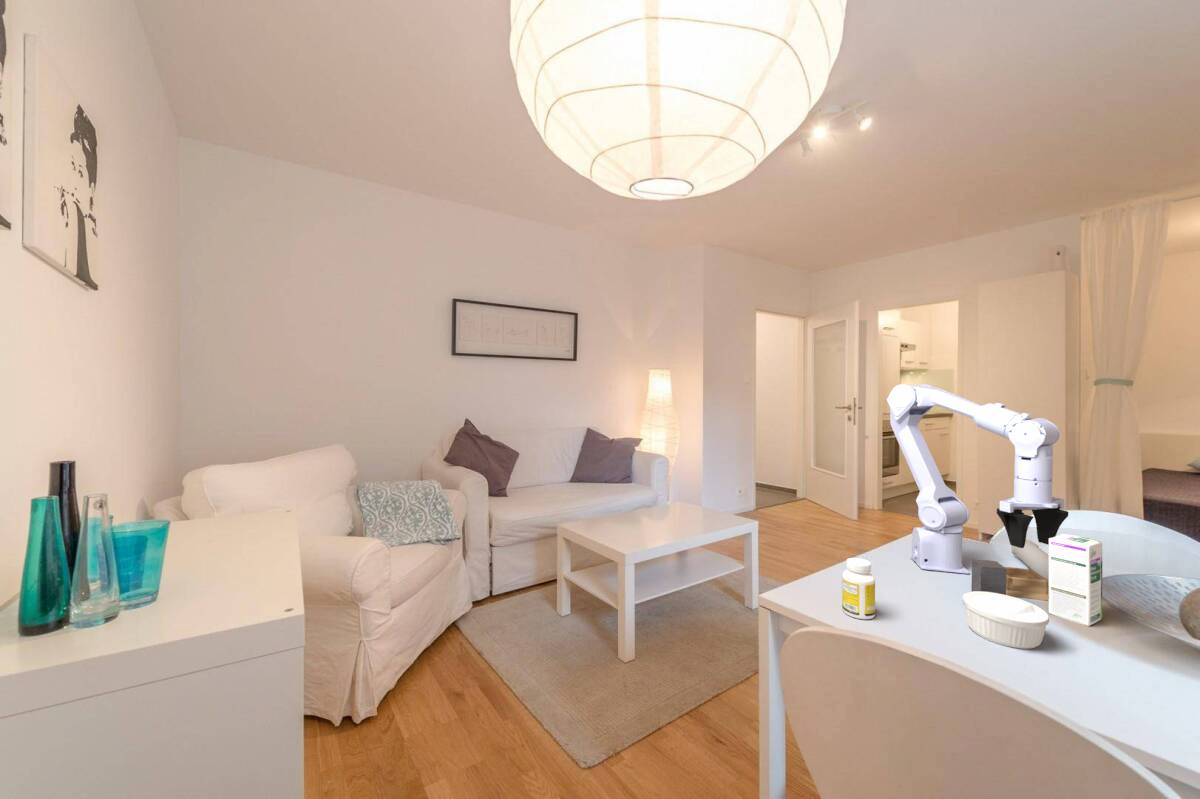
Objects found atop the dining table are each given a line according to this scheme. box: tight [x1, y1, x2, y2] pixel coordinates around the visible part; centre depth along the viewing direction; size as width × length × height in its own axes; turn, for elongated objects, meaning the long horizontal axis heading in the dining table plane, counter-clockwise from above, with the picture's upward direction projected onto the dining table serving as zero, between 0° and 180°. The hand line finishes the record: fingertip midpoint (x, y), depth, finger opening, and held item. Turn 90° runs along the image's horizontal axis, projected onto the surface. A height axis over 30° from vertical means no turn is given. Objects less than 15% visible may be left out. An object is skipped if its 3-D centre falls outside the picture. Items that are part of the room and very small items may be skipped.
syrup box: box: [1048, 533, 1103, 627], centre depth 87 cm, size 6×6×14 cm
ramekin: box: [962, 591, 1050, 650], centre depth 81 cm, size 11×11×5 cm
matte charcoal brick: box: [970, 558, 1007, 595], centre depth 92 cm, size 4×4×8 cm
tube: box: [1011, 538, 1049, 580], centre depth 105 cm, size 5×5×25 cm
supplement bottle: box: [841, 557, 876, 620], centre depth 88 cm, size 5×5×10 cm
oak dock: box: [1004, 566, 1049, 602], centre depth 98 cm, size 7×7×4 cm
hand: (1031, 544), depth 96 cm, fingers open, 7 cm apart
